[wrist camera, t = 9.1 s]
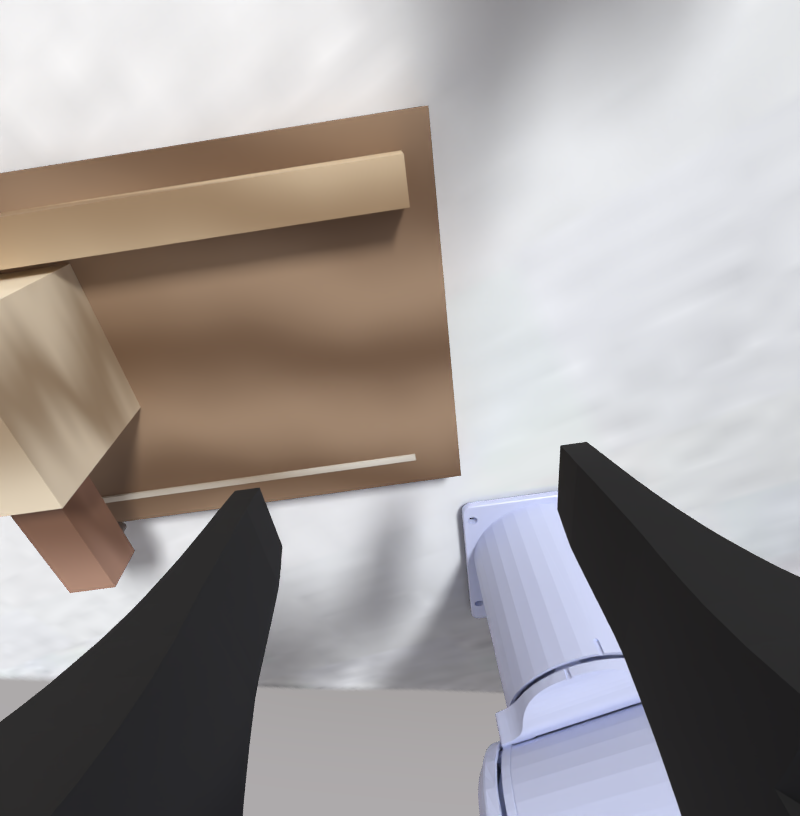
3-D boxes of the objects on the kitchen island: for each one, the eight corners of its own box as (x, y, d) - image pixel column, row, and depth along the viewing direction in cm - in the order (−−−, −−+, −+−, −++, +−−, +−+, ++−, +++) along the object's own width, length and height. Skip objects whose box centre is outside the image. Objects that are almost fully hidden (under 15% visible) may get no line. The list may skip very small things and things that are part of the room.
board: (456, 456, 24) (466, 497, 22) (68, 509, 25) (33, 555, 22) (423, 106, 16) (433, 105, 14) (-145, 196, 17) (-236, 211, 14)
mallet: (184, 496, 23) (131, 608, 18) (102, 508, 23) (25, 622, 18) (69, 263, 17) (-60, 329, 12) (-41, 280, 17) (-215, 353, 12)
